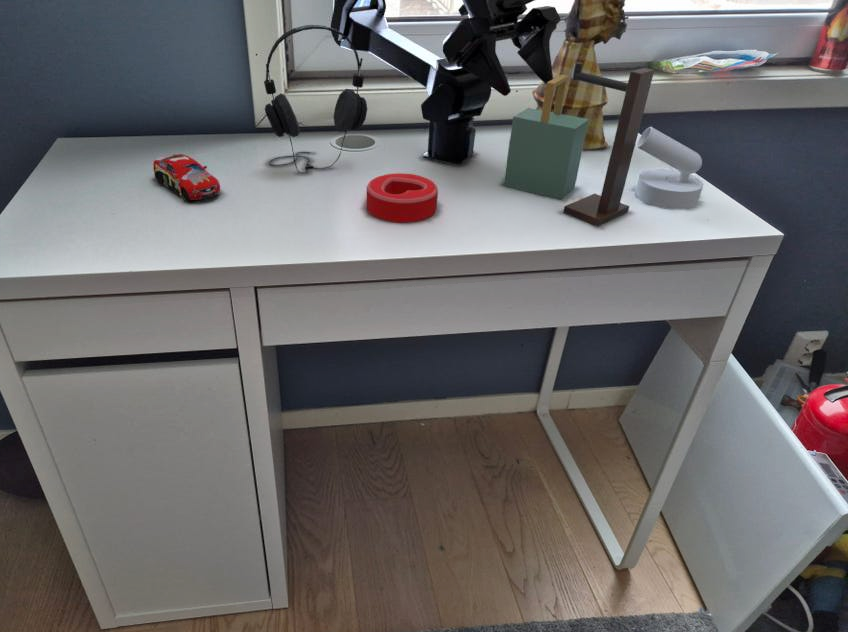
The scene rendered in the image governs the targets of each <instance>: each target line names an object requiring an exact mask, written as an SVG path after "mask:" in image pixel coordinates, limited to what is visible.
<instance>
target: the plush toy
mask: <svg viewBox="0 0 848 632" xmlns="http://www.w3.org/2000/svg"><path fill="white" fill-rule="evenodd" d="M625 2H626V0H573V3H572V6H571V9H570V11H568V14H567V15H566V16H564V17H560V18H561V20H560V22H561V21H562V22H563V24H564V25H565V29H564V30H563V32H564V34H565V35H564V37H565V38H564V39H563V42H562V44H561V45H560V47H559V49H558V51H557V53H556V55H555V57H554V59H553V61H552V62H551V65H552V73H553V79H554V78H556V77H558V76H560V75H567V76H568V80H567V86H566V91H565V97H564V102H563V107H562V113H561V114H564V115H569V116H574V117H580V118H585V119H589V121H588V126H587V131H586V136H585V140H584V145H583V150H593V149H601V148H606V147H607V146H608V145H609V143H608V142H607V140H606V136H605V131H604V112H603V108H604V106H606V105H608V102H609V98H608V93H607V88H606V87H604V86H600V85H595V84H591V83H587V82H583V81H579V80H572V75H573V70H574V65H575V62H581V63H583V66H582V71H581V72H583V73H588V74H592V75H596V76H600V77H603V75H602V72H601V69H600V66H599V63H598V60H597V56H596V55H597V54H596V51H595V46H596V45H598V44H600V43H603V44H604V45H606V44H607V43H609V41H610V40H611V39H613V38H615V39H617V40H618V41H619V40H621V38H622V36H623V35H624V33H626V31H627V27H628V24H627V23H626V20H629V19H630V18H629V16H626V14H625V13H626V12H625V9H624V7H625V6H626V4H625ZM557 90H558V86H556V87H555V89H554V95H553V100H552V106H551V112H554V106H555V101H556V95H557ZM545 91H546V84H545V83H544V82H543V81H542V80H540V83H539V84H538V85H537V87H535V89H533V90H532V97H533V99H534V100H535V102H536V105H537V106H536V108H535V109H537V110H542V109H543V103H544V97H545ZM583 150H582V151H583Z"/></svg>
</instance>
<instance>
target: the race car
mask: <svg viewBox="0 0 848 632" xmlns="http://www.w3.org/2000/svg"><path fill="white" fill-rule="evenodd" d="M152 164H153V166H152V167H153V168H152V169H153V173H154V174H153V175H154V178H155V179H156V180H157V182H158V184H159V185H161V186H163V185H164V186H166V187H167V188H168V189H170V190H172V191H173V192H175V193H176V194H178V195H179V196H181V197H182V198H183V200H184V201H185V202H190V201H198V200H205V199H209V198H212V197H215V196H217V195H218V194H220V192H221V185H220V181H219V180H218V179H217V178H216V177H215V176H214V175H213V174H212V173H210V172H209V171H207V170H206V169H208V166H207V165H204V166H202V164H201V163H199V162H198V161H197V160H195V159H194V158H192V157H191V156H189V155H186V154H182V153H179V154H169V155H165V156H161V157H157V158H155V159H154V160H153V163H152Z"/></svg>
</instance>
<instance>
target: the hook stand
mask: <svg viewBox="0 0 848 632" xmlns="http://www.w3.org/2000/svg"><path fill="white" fill-rule="evenodd" d="M582 66H583V63H581V62H575V65H574V70H573V75H572V80H579V81H583V82H587V83H591V84H595V85H600V86H604V87H605V88H608V89H612V90H616V91H620V92H625V93H624V97H623V102H622V106H621V110H620V114H619V118H618V123H617V127H616V131H615V136H614V139H613V144H612V148H611V152H610V155H609V161H608V165H607V169H606V173H605V177H604V178H605V179H604V180H603V185H602V190H601V193H600V194H597V193H592V194H590V195H587V196H585V197H583V198H580V199H578V200H576V201H573V202H571V203H569V204H566V205H564V207H563V212H562V213H563V214H565V215H568V216H570V217H573V218H575V219H578V220H580V221H583V222H585V223H588V224H590V225H593V226H596V227H597V228H598V227H600V226H603V225H605V224H607V223H609V222H611V221H613V220H616V219H617V218H620V217H622V216H624V215H626V214H628V213H629V210H630V205H627V204H625V203H621V201H622V197H623V193H624V190H625V189H624V188H625V185H626V181H627V178H628V174H629V170H630V167H631V162H632V158H633V154H634V151H635V147H636V144H637V143H636V142H637V140H638V135H639V131H640V128H641V124H642V120H643V116H644V113H645V108H646V105H647V100H648V97H649V93H650V89H651V85H652V81H653V78H654V73H655V69H651V68H647V67H642V68H639V69H635V70H631V71H630V73H629V77H628V80H627V81H626V82H625V81H622V80H617V79H612V78H608V77H605V76H602V77H600V76H596V75H592V74H588V73H583V72H581V71H582Z"/></svg>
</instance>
